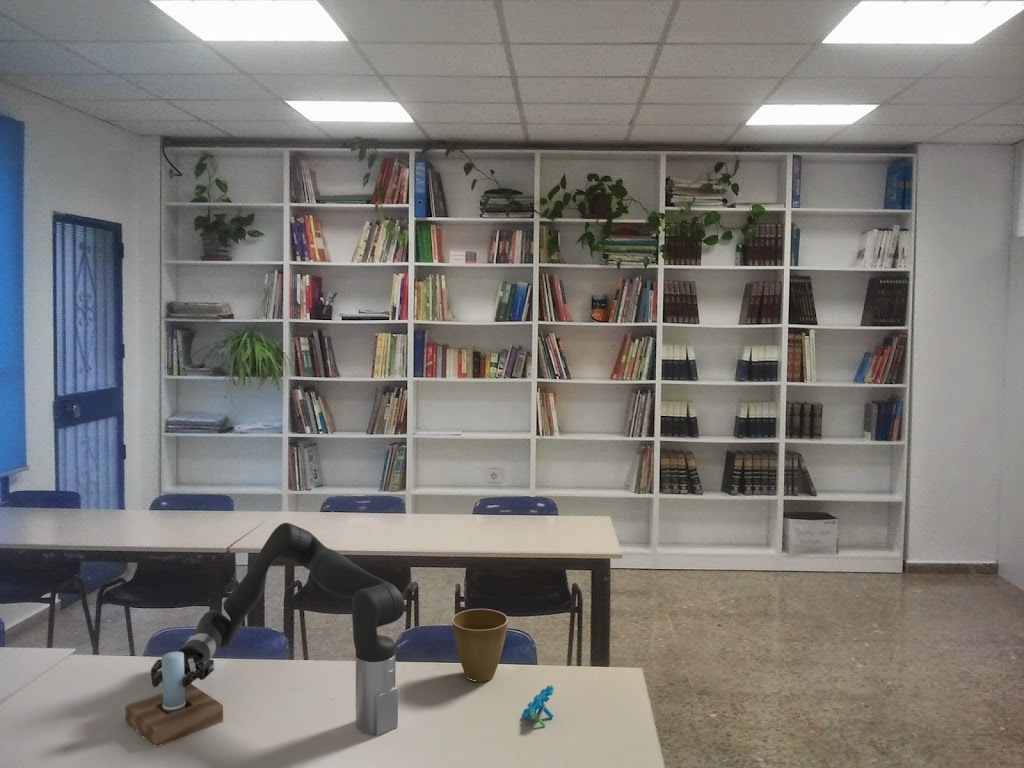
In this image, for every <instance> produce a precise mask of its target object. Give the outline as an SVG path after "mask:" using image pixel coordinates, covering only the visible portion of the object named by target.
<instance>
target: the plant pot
mask: <svg viewBox="0 0 1024 768" xmlns="http://www.w3.org/2000/svg"><path fill="white" fill-rule="evenodd" d="M451 621H452V630H453V636H454V637H453V638H454V641H455V647H456V649H457V653H458V657H459V661H460V664H461V666H462V669H463V673H464V674H465V677H466V676H467V677H468V678H469V679H472V680H476V681H485V682H487V681H486V680H489V679H491V680H492V679H493V678H494V677H495V674H496V672H497V671H496V670H497V669H498V667H499V662H500V659H501V656H502V652H503V648H504V645H505V639H506V635H507V627H508V616H507V615H506V614H505V613H503V612H501V611H498V610H493V609H488V608H473V609H467V610H463V611H460V612H458V613H456V614H454V616H452V618H451ZM467 677H466V678H467ZM469 679H468V680H469ZM489 681H490V680H489Z"/></svg>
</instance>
